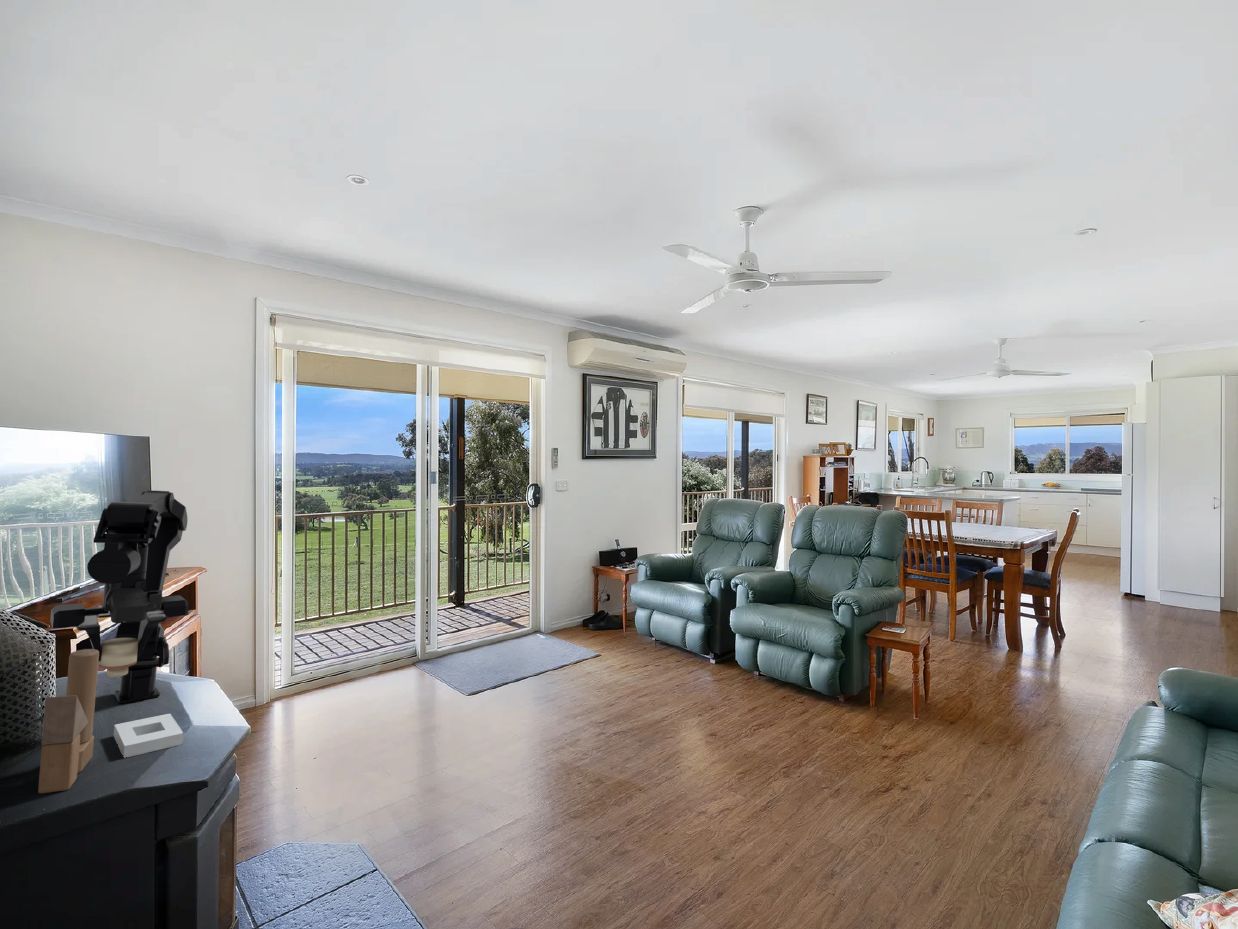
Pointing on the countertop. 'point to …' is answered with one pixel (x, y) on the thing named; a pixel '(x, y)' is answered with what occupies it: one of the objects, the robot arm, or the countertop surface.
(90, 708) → the wooden block
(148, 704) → the countertop surface
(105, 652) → the peg
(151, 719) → the board
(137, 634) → the robot arm
